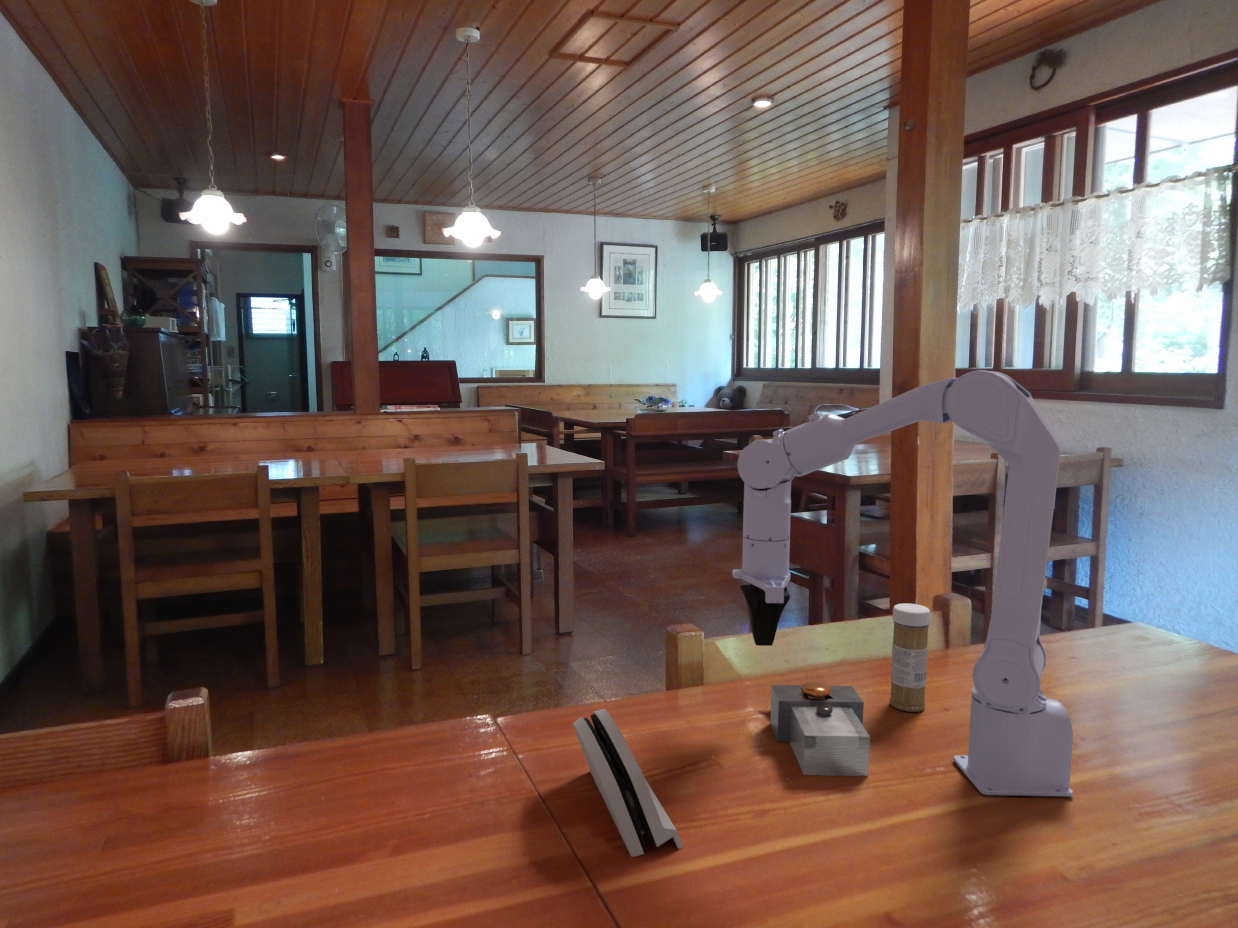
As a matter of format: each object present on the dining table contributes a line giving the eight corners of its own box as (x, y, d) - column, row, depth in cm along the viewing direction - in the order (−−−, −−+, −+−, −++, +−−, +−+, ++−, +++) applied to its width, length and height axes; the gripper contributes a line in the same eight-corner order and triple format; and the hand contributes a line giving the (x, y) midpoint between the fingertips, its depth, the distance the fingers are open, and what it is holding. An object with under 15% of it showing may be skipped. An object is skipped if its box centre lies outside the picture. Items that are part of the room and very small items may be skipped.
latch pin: (833, 728, 95) (834, 693, 95) (804, 727, 96) (805, 692, 95) (826, 716, 99) (827, 682, 98) (798, 715, 99) (799, 681, 98)
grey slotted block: (684, 849, 73) (650, 755, 71) (637, 873, 72) (602, 778, 70) (633, 764, 89) (604, 685, 87) (594, 782, 88) (564, 704, 86)
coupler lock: (868, 775, 87) (870, 731, 86) (803, 774, 87) (805, 730, 86) (848, 742, 95) (850, 701, 94) (789, 741, 95) (790, 700, 94)
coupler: (873, 760, 90) (875, 718, 90) (784, 759, 91) (785, 716, 90) (839, 707, 105) (841, 670, 104) (763, 705, 105) (764, 669, 105)
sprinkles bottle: (912, 697, 108) (917, 601, 107) (932, 711, 104) (937, 610, 102) (882, 700, 107) (886, 603, 106) (901, 714, 103) (905, 613, 101)
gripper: (727, 525, 106) (724, 625, 107) (741, 548, 91) (738, 663, 93) (780, 526, 106) (777, 626, 107) (803, 549, 91) (799, 664, 93)
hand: (763, 643), depth 100 cm, fingers closed
